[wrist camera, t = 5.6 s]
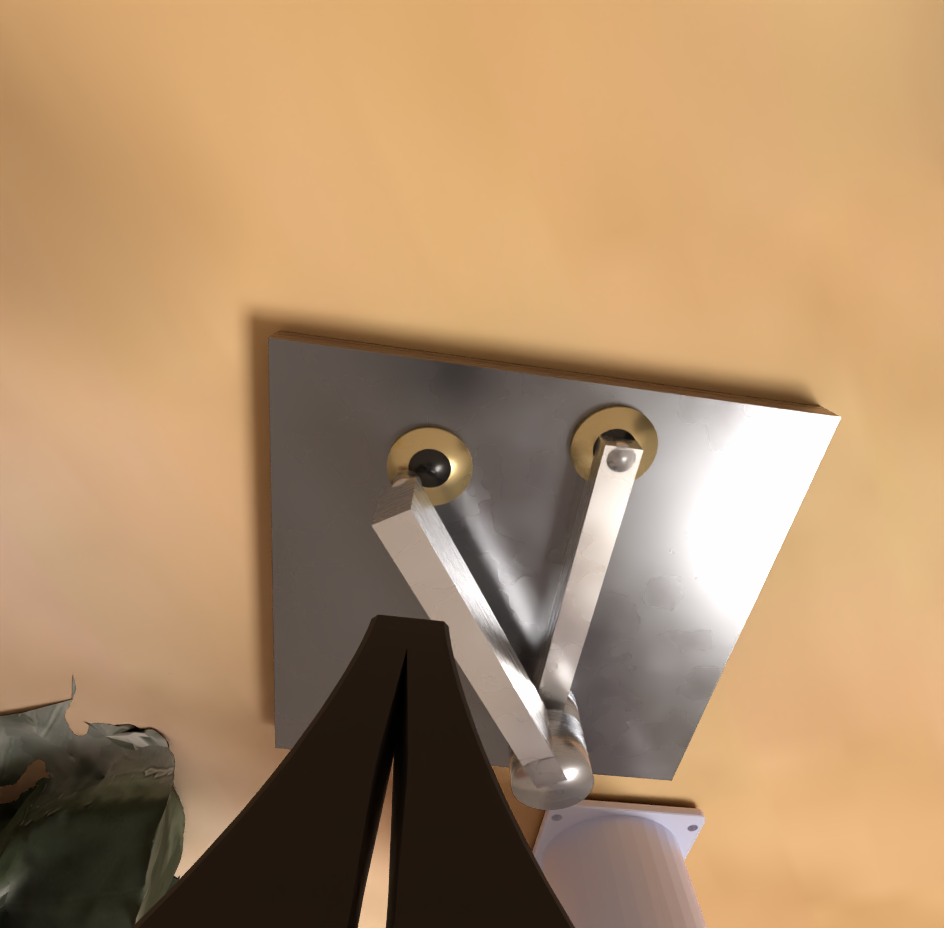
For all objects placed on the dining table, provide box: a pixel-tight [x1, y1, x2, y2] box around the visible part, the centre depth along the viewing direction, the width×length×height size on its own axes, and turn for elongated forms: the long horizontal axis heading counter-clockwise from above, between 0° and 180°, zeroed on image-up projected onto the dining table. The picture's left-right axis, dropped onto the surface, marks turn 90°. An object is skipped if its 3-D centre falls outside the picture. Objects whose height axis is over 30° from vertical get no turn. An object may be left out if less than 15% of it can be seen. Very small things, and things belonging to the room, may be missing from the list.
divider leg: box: [372, 470, 594, 810], centre depth 18 cm, size 14×3×3 cm, turn 24°
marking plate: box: [268, 331, 841, 781], centre depth 20 cm, size 18×18×2 cm
